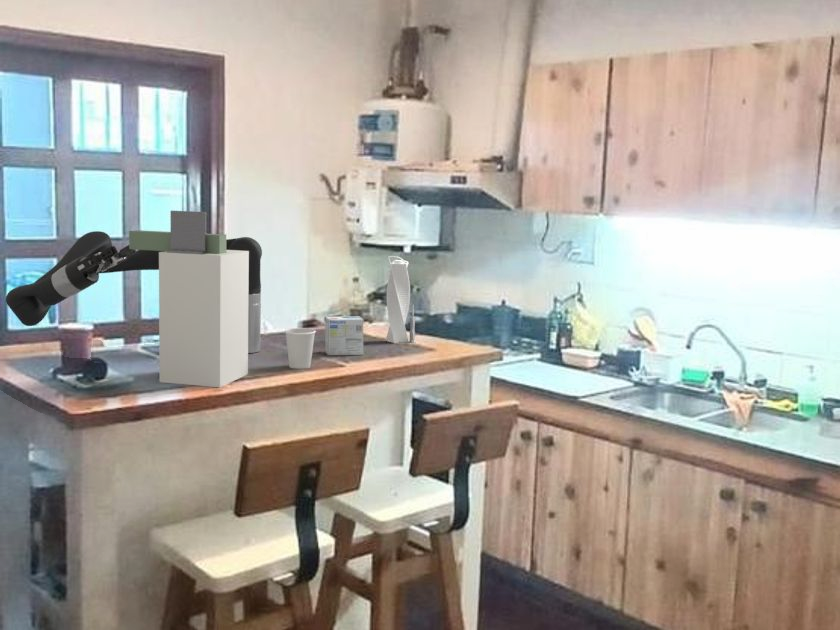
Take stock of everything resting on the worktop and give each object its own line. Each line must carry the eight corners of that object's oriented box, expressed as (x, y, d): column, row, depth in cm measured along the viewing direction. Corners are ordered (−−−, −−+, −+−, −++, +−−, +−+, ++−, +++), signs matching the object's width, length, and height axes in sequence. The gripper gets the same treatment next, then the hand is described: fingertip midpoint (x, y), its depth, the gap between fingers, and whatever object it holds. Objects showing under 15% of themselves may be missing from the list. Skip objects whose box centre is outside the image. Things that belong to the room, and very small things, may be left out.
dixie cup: (285, 369, 253) (285, 332, 252) (283, 363, 261) (283, 327, 260) (316, 369, 255) (317, 332, 253) (313, 363, 263) (314, 328, 262)
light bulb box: (359, 351, 285) (360, 315, 283) (363, 355, 278) (364, 318, 277) (323, 351, 282) (324, 315, 281) (327, 355, 276) (328, 319, 274)
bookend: (172, 251, 231) (172, 210, 230) (206, 253, 229) (206, 212, 228) (166, 252, 228) (166, 210, 227) (201, 254, 226) (201, 212, 225)
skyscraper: (394, 345, 298) (396, 256, 294) (379, 341, 304) (382, 254, 300) (415, 343, 303) (418, 256, 299) (401, 340, 309) (403, 254, 305)
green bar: (137, 248, 238) (136, 230, 238) (226, 252, 233) (226, 234, 233) (128, 249, 235) (128, 230, 234) (219, 253, 229) (219, 235, 229)
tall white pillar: (190, 369, 249) (190, 248, 245) (247, 374, 246) (248, 250, 242) (159, 382, 233) (158, 252, 229) (220, 387, 230) (220, 255, 225)
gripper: (51, 266, 234) (102, 236, 230) (84, 262, 248) (132, 233, 244) (65, 293, 234) (116, 263, 230) (97, 287, 248) (146, 259, 244)
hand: (124, 248), depth 237 cm, fingers open, 8 cm apart
